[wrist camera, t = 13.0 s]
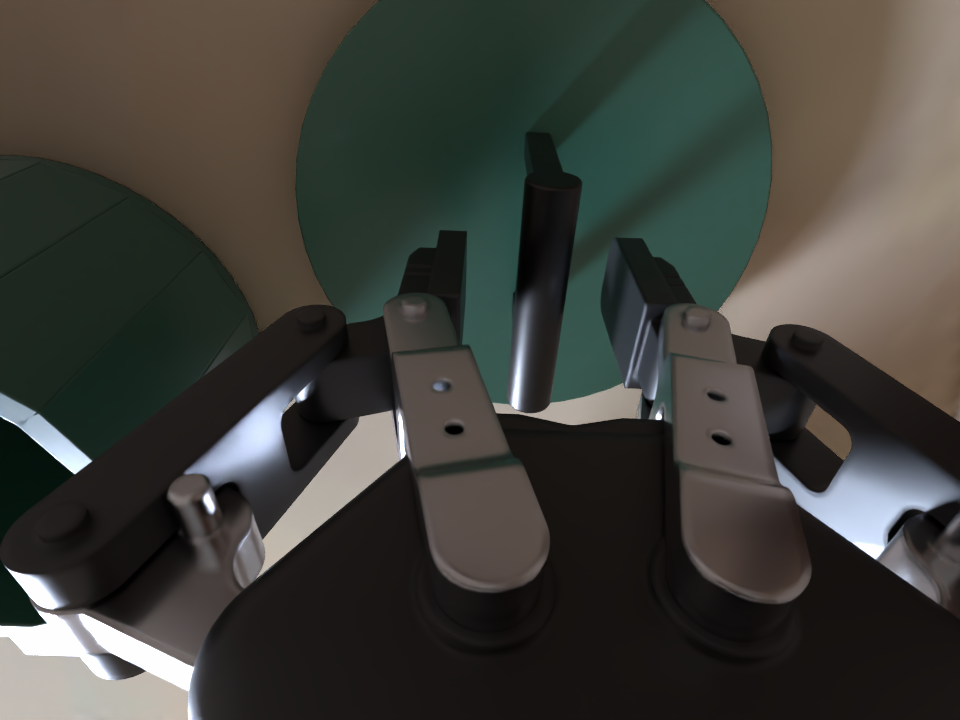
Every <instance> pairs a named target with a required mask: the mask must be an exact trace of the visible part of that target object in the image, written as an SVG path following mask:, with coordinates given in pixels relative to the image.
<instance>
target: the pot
mask: <svg viewBox="0 0 960 720" xmlns="http://www.w3.org/2000/svg"><path fill="white" fill-rule="evenodd" d="M258 334H259V333H258V330H257V326H256V323H255V320H254V317H253V314H252V312H251V310H250V308H249V306H248V304H247V302H246V300H245V298H244V296H243V294H242V292H241V291H240V289H239V288H238V286H237V285H236V283H235V281H234V280H233V278H232V277H231V275H230V274H229V273H228V272H227V270H226V269H225V268H224V266H223V265H222V264H221V263H220V261H219V260H218V259H217V258H216V256H215V255H214V254H213V253H212V252H211V251H210V250H209V249H208V248H207V247H206V246H205V245H204V244H203V243H202V242H201V241H200V240H199V239H198V238H197V237H196V236H195V235H194V234H192V233H191V232H190V231H189V230H188V229H187V228H185V227H184V226H183V225H182V224H181V223H179V222H178V221H177V220H176V219H175V218H173V217H172V216H170V215H169V214H168V213H166V212H165V211H163V210H162V209H160V208H159V207H158V206H156V205H155V204H153V203H152V202H150V201H149V200H147V199H145V198H143V197H142V196H140V195H138V194H136V193H135V192H133V191H131V190H129V189H128V188H126V187H124V186H122V185H120V184H117V183H115V182H113V181H111V180H109V179H106V178H104V177H102V176H100V175H97V174H95V173H92V172H89V171H86V170H83V169H80V168H77V167H74V166H71V165H68V164H64V163H59V162H55V161H50V160H46V159H42V158H35V157H25V156H16V155H0V546H1V543H2V540H3V538H4V536H5V535H6V533H7V531H8V530H9V529H10V527H11V526H12V525H13V524H14V522H15V521H16V520H17V519H18V518H19V517H20V516H22V515H23V514H24V513H25V512H26V511H28V510H29V509H30V508H31V507H33V506H34V505H35V504H37V503H38V502H39V501H41V500H42V499H43V498H45V497H46V496H47V495H49V494H50V493H51V492H52V491H54V490H55V489H56V488H58V487H59V486H60V485H62V484H63V483H64V482H66V481H67V480H68V479H70V478H71V477H72V476H73V475H75V474H76V473H77V472H79V471H80V470H81V469H83V468H84V467H85V466H87V465H88V464H89V463H90V462H92V461H93V460H94V459H96V458H97V457H98V456H100V455H101V454H102V453H104V452H105V451H106V450H108V449H109V448H110V447H111V446H113V445H114V444H115V443H117V442H118V441H119V440H121V439H122V438H123V437H125V436H126V435H127V434H128V433H130V432H131V431H132V430H134V429H135V428H136V427H138V426H139V425H140V424H142V423H143V422H144V421H146V420H147V419H148V418H149V417H151V416H152V415H153V414H155V413H156V412H157V411H159V410H160V409H161V408H163V407H164V406H165V405H166V404H168V403H169V402H170V401H172V400H173V399H174V398H176V397H177V396H178V395H180V394H181V393H182V392H184V391H185V390H186V389H187V388H189V387H190V386H191V385H193V384H194V383H195V382H197V381H198V380H199V379H201V378H202V377H203V376H204V375H206V374H207V373H208V372H210V371H211V370H212V369H214V368H215V367H216V366H218V365H219V364H220V363H222V362H223V361H224V360H225V359H227V358H228V357H229V356H231V355H232V354H233V353H235V352H236V351H237V350H239V349H240V348H241V347H243V346H244V345H245V344H246V343H248V342H249V341H250V340H252V339H253V338H254V337H256V336H257V335H258ZM0 636H6V637H10V638H11V639H12V640H13V641H14V642H15V643H16V644H17V645H18V646H19V647H20V648H21V649H22V650H23V651H24V653H25V654H29V655H57V656H79V654H78V653H77V652H75V651H73V650H71V649H70V648H69V647H68V646H66V644H65V643H64V642H63V641H62V640H61V639H60V637H59V636H58V635H57V634H56V633H55V631H54V630H53V629H52V628H51V627H50V625H49V624H48V623H47V622H46V621H45V620H44V618H43V617H42V616H41V615H40V614H39V612H38V611H37V610H36V609H35V608H34V606H33V605H32V603H31V602H30V599H29V594H28V593H27V592H26V591H25V590H24V588H23V587H22V586H21V585H20V584H19V582H18V581H17V580H16V579H15V578H14V576H13V575H12V574H11V573H10V572H9V570H8V569H7V568H6V567H5V566H4V564H3V562H2V561H1V557H0Z"/></svg>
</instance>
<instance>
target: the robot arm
mask: <svg viewBox="0 0 960 720" xmlns="http://www.w3.org/2000/svg"><path fill="white" fill-rule="evenodd" d="M466 267H467V231H454V230H440V231H439V236H438V241H437V246H436V248H425V247H419V248H418V249H417V250H415V251H414V252H413V253H412V254H410V255H409V258H408V261H407V265H406V268H405V272H404V275H403V278H402V282H401V285H400V289H399V292H398V295H397V296H395V297H393V298H391V299H389V300H388V301H387V302H386V303H385V304H384V306H383V316H381V317H378V318H376V319H372V320H368V321H362V322H355V323H348V324H347V321H346V316H345V314H344V313H343V312H342V311H341V310H339V309H337V308H335V307H332V306H327V305H308V306H303V307H299V308H296V309H294V310H291V311H289V312H288V313H286V314H284V315H283V316H282V317H281V318H279V319H278V320H277V321H275V322H274V323H273V324H271V325H270V326H269V327H267V328H266V329H265V330H263V331H262V332H261V333H260V334H258V335H257V336H256V337H254V338H253V339H252V340H250V341H249V342H248V343H246V344H245V345H244V346H243V347H241V348H240V349H239V350H237V351H236V352H235V353H233V354H232V355H231V356H229V357H228V358H227V359H225V360H224V361H223V362H222V363H220V364H219V365H218V366H216V367H215V368H214V369H212V370H211V371H210V372H208V373H207V374H206V375H204V376H203V377H202V378H201V379H199V380H198V381H197V382H195V383H194V384H193V385H191V386H190V387H189V388H187V389H186V390H185V391H184V392H182V393H181V394H180V395H178V396H177V397H176V398H174V399H173V400H172V401H170V402H169V403H168V404H166V405H165V406H164V407H163V408H161V409H160V410H159V411H157V412H156V413H155V414H153V415H152V416H151V417H149V418H148V419H147V420H146V421H144V422H143V423H142V424H140V425H139V426H138V427H136V428H135V429H134V430H132V431H131V432H130V433H128V434H127V435H126V436H125V437H123V438H122V439H121V440H119V441H118V442H117V443H115V444H114V445H113V446H111V447H110V448H109V449H108V450H106V451H105V452H104V453H102V454H101V455H100V456H98V457H97V458H96V459H94V460H93V461H92V462H90V463H89V464H88V465H87V466H85V467H84V468H83V469H81V470H80V471H79V472H77V473H76V474H75V475H73V476H72V477H71V478H70V479H68V480H67V481H66V482H64V483H63V484H62V485H60V486H59V487H58V488H56V489H55V490H54V491H52V492H51V493H50V494H49V495H47V496H46V497H45V498H43V499H42V500H41V501H39V502H38V503H37V504H35V505H34V506H33V507H31V508H30V509H29V510H28V511H26V512H25V513H24V514H23V515H22V516H20V517H19V518H18V519H17V520H16V521H15V522H14V524H13V525H12V526H11V527H10V529H9V530H8V531H7V533H6V535H5V536H4V538H3V540H2V543H1V546H0V557H1V561H2V562H3V564H4V566H5V567H6V568H7V569H8V570H9V572H10V573H11V574H12V575H13V576H14V578H15V579H16V580H17V581H18V582H19V584H20V585H21V586H22V587H23V588H24V590H25V591H26V592H27V593H28V594H29V599H30V602H31V603H32V605H33V606H34V608H35V609H36V610H37V611H38V612H39V614H40V615H41V616H42V617H43V618H44V620H45V621H46V622H47V623H48V624H49V625H50V627H51V628H52V629H53V630H54V631H55V633H56V634H57V635H58V636H59V637H60V639H61V640H62V641H63V642H64V643H65V644H66V646H68V647H69V648H70V649H71V650H73V651H75V652H77V653H78V654H79V656H80V657H81V658H82V659H83V660H84V662H85V663H86V664H87V665H88V666H89V668H90V669H91V670H92V671H93V672H94V673H95V674H96V675H98V676H99V677H101V678H104V679H108V680H121V679H127V678H130V677H134V676H136V675H139V674H141V673H143V672H145V671H149V672H151V673H153V674H155V675H157V676H159V677H161V678H163V679H165V680H167V681H169V682H171V683H173V684H175V685H177V686H179V687H181V688H183V689H185V690H187V691H189V695H188V719H189V720H960V422H959V421H957V420H956V419H954V418H953V417H951V416H950V415H948V414H947V413H945V412H944V411H942V410H941V409H939V408H938V407H936V406H934V405H933V404H931V403H930V402H928V401H927V400H925V399H924V398H922V397H921V396H919V395H918V394H916V393H915V392H913V391H912V390H910V389H909V388H907V387H906V386H904V385H903V384H901V383H900V382H898V381H897V380H895V379H894V378H892V377H891V376H889V375H888V374H886V373H885V372H883V371H882V370H880V369H879V368H877V367H876V366H874V365H873V364H871V363H870V362H868V361H867V360H865V359H864V358H862V357H861V356H859V355H858V354H856V353H855V352H853V351H851V350H850V349H848V348H847V347H845V346H844V345H842V344H841V343H839V342H838V341H836V340H835V339H833V338H832V337H830V336H829V335H827V334H825V333H823V332H821V331H818V330H816V329H813V328H810V327H806V326H801V325H793V324H785V325H779V326H776V327H774V328H773V329H772V330H771V332H770V334H769V336H768V339H767V341H766V342H765V341H760V340H756V339H751V338H746V337H742V336H738V335H734V334H731V330H730V325H729V322H728V320H727V319H726V318H725V317H724V316H723V315H722V314H720V313H719V312H717V311H715V310H713V309H711V308H708V307H705V306H702V305H697V304H696V302H695V300H694V299H693V297H692V295H691V294H690V292H689V290H688V289H687V287H685V284H684V282H683V280H682V279H681V278H680V275H679V274H678V272H677V270H676V269H675V267H674V266H673V265H671V264H670V263H668V262H667V261H666V260H664V259H663V258H661V257H653V256H652V254H651V253H650V251H649V249H648V247H647V245H646V243H645V242H644V240H643V239H642V238H621V237H614V238H613V239H612V241H611V244H610V249H609V254H608V259H607V264H606V270H605V275H604V280H603V285H602V291H601V301H600V305H601V314H602V317H603V320H604V323H605V327H606V330H607V333H608V336H609V339H610V343H611V346H612V349H613V352H614V355H615V358H616V362H617V365H618V368H619V371H620V374H621V378H622V381H623V384H624V387H625V388H636V389H642V394H641V398H640V402H639V405H638V416H637V419H628V418H621V419H614V420H608V421H601V422H595V423H588V424H581V425H566V424H562V423H557V422H552V421H548V420H543V419H538V418H534V417H529V416H525V415H520V414H498V413H496V412H495V409H494V407H493V404H492V401H491V399H490V396H489V394H488V391H487V388H486V386H485V383H484V380H483V378H482V375H481V373H480V370H479V367H478V365H477V362H476V360H475V357H474V354H473V352H472V349H471V347H470V345H469V344H465V345H462V340H463V328H464V315H465V301H466ZM294 398H295V400H296V402H295V403H294V404H293V405H292V406H291V407H290V408H289V409H288V410H287V411H286V412H285V413H284V414H283V412H284V410H285V408H286V407H287V405H288V404H289V403H290V402H291V401H292V400H293V399H294ZM816 404H817V405H818V406H819V407H821V408H822V409H823V410H824V411H826V412H827V413H828V414H829V415H831V416H832V417H833V418H834V419H836V420H837V421H838V422H839V423H841V424H842V425H843V426H844V427H845V428H846V429H847V431H848V432H849V434H850V436H851V440H852V448H851V451H850V453H849V454H848V456H847V457H846V459H845V461H843V460H842V459H841V458H840V457H839V456H837V455H836V454H835V453H834V452H833V451H832V450H830V449H829V448H828V447H827V446H826V445H825V444H823V443H822V442H821V441H820V440H819V439H818V438H816V437H815V436H814V435H813V434H812V433H811V432H809V431H808V430H807V429H806V428H805V425H806V423H807V421H808V419H809V417H810V415H811V414H812V412H813V410H814V408H815V406H816ZM386 411H391V412H392V418H393V425H394V431H395V438H396V444H397V451H398V457H399V461H398V462H397V463H396V464H395V465H394V466H392V467H391V468H390V469H389V470H388V471H386V472H385V473H384V474H383V475H382V476H380V477H379V478H378V479H377V480H375V481H374V482H373V483H372V484H371V485H369V486H368V487H367V488H366V489H365V490H363V491H362V492H361V493H360V494H359V495H357V496H356V497H355V498H354V499H352V500H351V501H350V502H349V503H348V504H346V505H345V506H344V507H343V508H342V509H340V510H339V511H338V512H337V513H336V514H334V515H333V516H332V517H331V518H329V519H328V520H327V521H326V522H325V523H323V524H322V525H321V526H320V527H319V528H317V529H316V530H315V531H314V532H313V533H311V534H310V535H309V536H308V537H307V538H305V539H304V540H303V541H302V542H300V543H299V544H298V545H297V546H296V547H294V548H293V549H292V550H291V551H290V552H288V553H287V554H286V555H285V556H284V557H282V558H281V559H280V560H279V561H277V562H276V563H275V564H274V565H273V566H271V567H270V568H269V569H268V570H267V571H265V572H264V573H263V574H262V575H261V576H259V577H258V578H257V579H256V577H257V576H258V574H259V572H260V571H261V569H262V566H263V564H264V560H265V548H264V544H263V541H262V540H263V539H264V537H265V536H266V535H267V534H268V532H269V531H270V530H271V529H272V528H273V526H274V525H275V524H276V523H277V522H278V520H279V519H280V518H281V517H282V516H283V514H284V513H285V512H286V511H287V509H288V508H289V507H290V506H291V505H292V503H293V502H294V501H295V500H296V499H297V497H298V496H299V495H300V494H301V493H302V491H303V490H304V489H305V488H306V486H307V485H308V484H309V483H310V482H311V480H312V479H313V478H314V477H315V476H316V474H317V473H318V472H319V471H320V470H321V468H322V467H323V466H324V465H325V463H326V462H327V461H328V460H329V459H330V457H331V456H332V455H333V454H334V453H335V451H336V450H337V449H338V448H339V446H340V445H341V444H342V443H343V442H344V440H345V439H346V438H347V437H348V436H349V434H350V433H351V432H352V431H353V430H354V428H355V427H356V425H357V424H358V421H359V417H360V416H365V415H370V414H376V413H381V412H386ZM255 579H256V580H255Z"/></svg>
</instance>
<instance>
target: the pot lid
mask: <svg viewBox="0 0 960 720" xmlns="http://www.w3.org/2000/svg"><path fill="white" fill-rule="evenodd" d="M771 180H772V141H771V133H770V126H769V118H768V112H767V109H766V105H765V102H764V98H763V95H762V91H761V88H760V84H759V81H758V79H757V77H756V74H755V72H754V70H753V68H752V66H751V64H750V61H749V59H748V57H747V55H746V53H745V51H744V49H743V47H742V46H741V44H740V43H739V42H738V40H737V39H736V37H735V36H734V34H733V33H732V31H731V30H730V28H729V27H728V25H727V24H726V22H725V21H724V20H723V19H722V18H721V16H720V15H719V14H718V13H717V12H716V11H715V10H714V9H713V8H712V7H711V6H710V5H709V4H708V3H707V2H706V1H705V0H380V1H378V2H377V3H376V4H375V5H373V7H372V8H371V9H370V10H369V11H368V12H367V13H366V14H365V15H364V16H363V17H362V18H361V20H360V21H359V22H358V23H357V24H356V25H355V26H354V27H353V28H352V29H351V30H350V31H349V33H348V34H347V35H346V37H345V38H344V40H343V41H342V43H341V44H340V46H339V47H338V49H337V50H336V52H335V53H334V54H333V56H332V57H331V59H330V60H329V62H328V63H327V65H326V68H325V70H324V72H323V74H322V76H321V78H320V80H319V82H318V84H317V86H316V88H315V90H314V92H313V94H312V97H311V100H310V103H309V107H308V110H307V113H306V116H305V119H304V122H303V125H302V130H301V135H300V141H299V147H298V153H297V159H296V188H295V191H296V200H297V210H298V220H299V224H300V228H301V233H302V237H303V241H304V245H305V249H306V252H307V254H308V257H309V259H310V262H311V265H312V267H313V270H314V273H315V275H316V277H317V279H318V281H319V283H320V285H321V286H322V288H323V290H324V292H325V294H326V296H327V298H328V299H329V301H330V302H331V304H332V305H333V306H334V307H335V308H337V309H339V310H341V311H342V312H343V313H344V314H345V316H346V321H347V324H348V323H355V322H362V321H368V320H372V319H376V318H378V317H381V316H383V306H384V304H385V303H386V302H387V301H388V300H389V299H391V298H393V297H395V296H397V295H398V292H399V289H400V285H401V282H402V278H403V275H404V272H405V268H406V265H407V261H408V258H409V255H410V254H412V253H413V252H414V251H415V250H417V249H418V248H419V247H425V248H436V246H437V241H438V236H439V231H440V230H454V231H467V267H466V301H465V315H464V328H463V340H462V345H465V344H469V345H470V347H471V349H472V352H473V354H474V357H475V360H476V362H477V365H478V367H479V370H480V373H481V375H482V378H483V380H484V383H485V386H486V388H487V391H488V394H489V396H490V399H491V401H492V403H503V404H510V405H511V406H512V407H513V408H514V409H516V410H518V411H521V412H524V413H537V412H541V411H543V410H545V409H546V408H547V407H548V406H549V404H550V403H552V402H561V401H566V400H570V399H575V398H580V397H585V396H588V395H591V394H594V393H597V392H601V391H604V390H607V389H610V388H612V387H614V386H617V385H619V384H621V383H623V381H622V378H621V374H620V371H619V368H618V365H617V362H616V358H615V355H614V352H613V349H612V346H611V343H610V339H609V336H608V333H607V330H606V327H605V323H604V320H603V317H602V314H601V305H600V301H601V291H602V285H603V280H604V275H605V270H606V264H607V259H608V254H609V249H610V244H611V241H612V239H613V238H614V237H621V238H642V239H643V240H644V242H645V243H646V245H647V247H648V249H649V251H650V253H651V254H652V256H653V257H661V258H663V259H664V260H666V261H667V262H668V263H670V264H671V265H673V266H674V267H675V269H676V270H677V272H678V274H679V275H680V278H681V279H682V280H683V282H684V284H685V287H687V289H688V290H689V292H690V294H691V295H692V297H693V299H694V300H695V302H696V304H697V305H702V306H705V307H708V308H711V309H713V310H715V311H718V310H719V308H720V307H721V306H722V304H723V303H724V302H725V300H726V299H727V298H728V296H729V295H730V293H731V292H732V291H733V289H734V287H735V286H736V284H737V282H738V280H739V279H740V277H741V275H742V274H743V272H744V270H745V268H746V267H747V264H748V262H749V260H750V257H751V255H752V253H753V251H754V248H755V246H756V244H757V241H758V239H759V235H760V232H761V229H762V225H763V222H764V218H765V215H766V211H767V206H768V200H769V193H770V187H771Z"/></svg>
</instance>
